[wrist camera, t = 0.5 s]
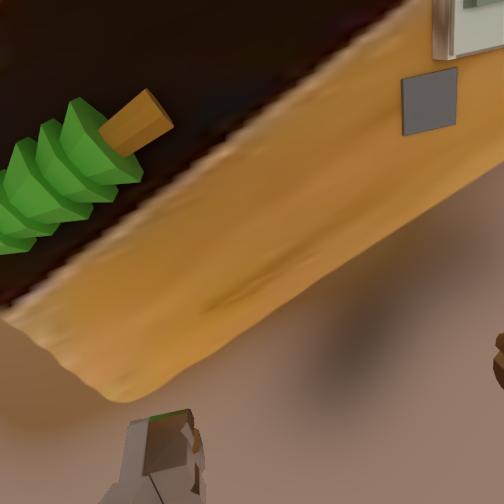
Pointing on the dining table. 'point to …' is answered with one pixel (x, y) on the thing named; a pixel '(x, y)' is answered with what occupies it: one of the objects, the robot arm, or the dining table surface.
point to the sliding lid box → (446, 33)
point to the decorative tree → (73, 168)
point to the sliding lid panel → (476, 25)
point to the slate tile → (429, 101)
